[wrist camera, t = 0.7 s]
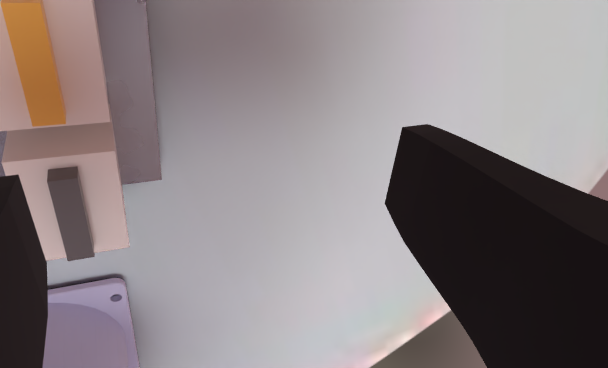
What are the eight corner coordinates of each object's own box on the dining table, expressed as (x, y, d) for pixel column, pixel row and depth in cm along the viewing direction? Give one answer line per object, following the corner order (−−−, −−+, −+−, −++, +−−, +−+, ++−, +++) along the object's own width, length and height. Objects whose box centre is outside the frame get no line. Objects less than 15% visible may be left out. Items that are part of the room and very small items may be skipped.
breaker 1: (105, 76, 17) (111, 132, 14) (3, 82, 16) (-12, 143, 13) (85, -54, 14) (89, -16, 12) (-37, -56, 13) (-64, -16, 11)
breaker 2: (123, 194, 20) (131, 259, 17) (38, 206, 19) (32, 276, 16) (109, 103, 17) (116, 162, 15) (11, 110, 16) (-1, 175, 14)
